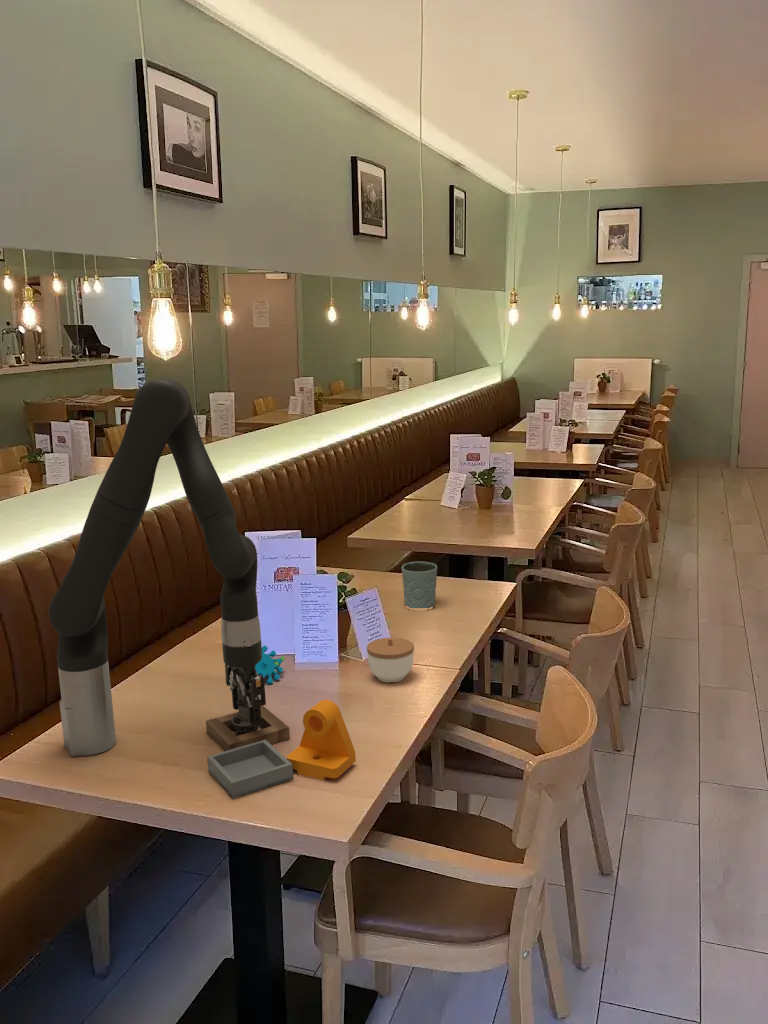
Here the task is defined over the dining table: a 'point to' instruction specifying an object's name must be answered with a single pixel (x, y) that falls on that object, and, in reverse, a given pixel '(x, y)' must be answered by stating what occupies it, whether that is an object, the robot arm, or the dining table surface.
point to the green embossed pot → (419, 584)
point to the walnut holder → (228, 740)
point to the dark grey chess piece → (243, 716)
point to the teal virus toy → (269, 665)
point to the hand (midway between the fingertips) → (247, 715)
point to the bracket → (323, 743)
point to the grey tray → (249, 768)
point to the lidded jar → (390, 658)
